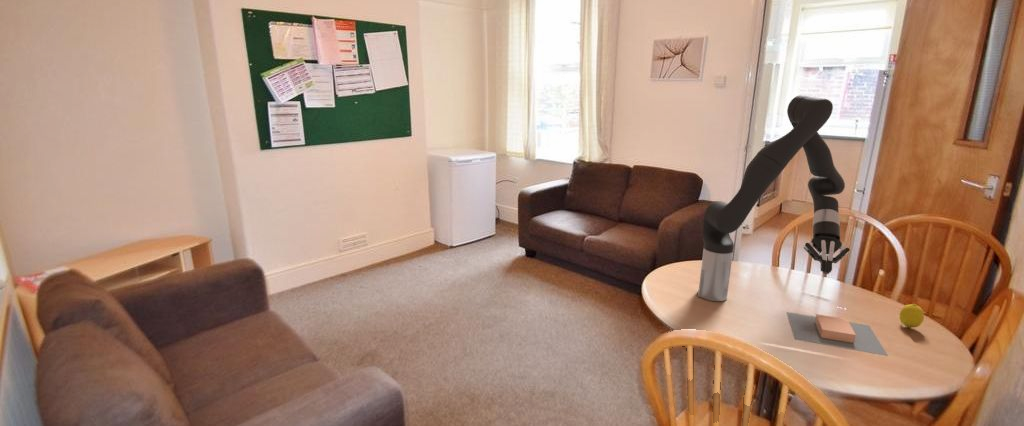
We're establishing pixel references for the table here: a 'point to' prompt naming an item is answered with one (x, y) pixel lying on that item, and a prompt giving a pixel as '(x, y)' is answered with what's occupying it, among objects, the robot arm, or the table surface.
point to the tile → (835, 328)
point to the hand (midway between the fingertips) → (826, 272)
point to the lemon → (911, 315)
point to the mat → (808, 332)
